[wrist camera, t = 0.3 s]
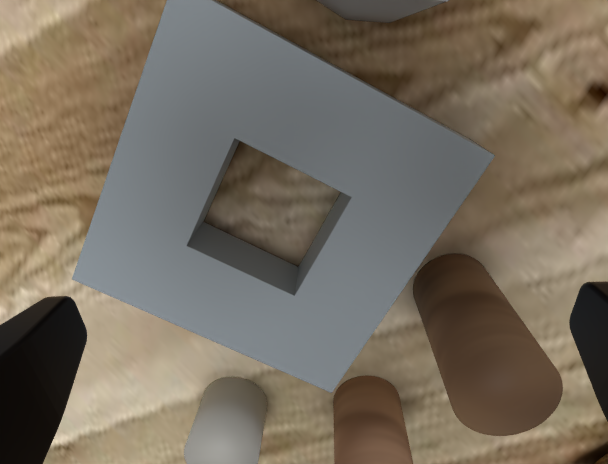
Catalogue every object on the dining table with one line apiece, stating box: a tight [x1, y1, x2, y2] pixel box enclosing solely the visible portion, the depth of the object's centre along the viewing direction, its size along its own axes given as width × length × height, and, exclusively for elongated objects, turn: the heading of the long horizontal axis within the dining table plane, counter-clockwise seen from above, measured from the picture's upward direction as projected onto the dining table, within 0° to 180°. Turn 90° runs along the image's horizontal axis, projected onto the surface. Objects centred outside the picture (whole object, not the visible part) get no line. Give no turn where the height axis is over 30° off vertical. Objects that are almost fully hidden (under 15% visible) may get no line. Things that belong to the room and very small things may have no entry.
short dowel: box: [184, 377, 267, 464], centre depth 26 cm, size 4×4×4 cm
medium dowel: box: [333, 376, 413, 464], centre depth 25 cm, size 4×4×6 cm
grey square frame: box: [72, 0, 495, 393], centre depth 21 cm, size 14×14×3 cm
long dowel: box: [413, 254, 563, 436], centre depth 20 cm, size 4×4×8 cm
